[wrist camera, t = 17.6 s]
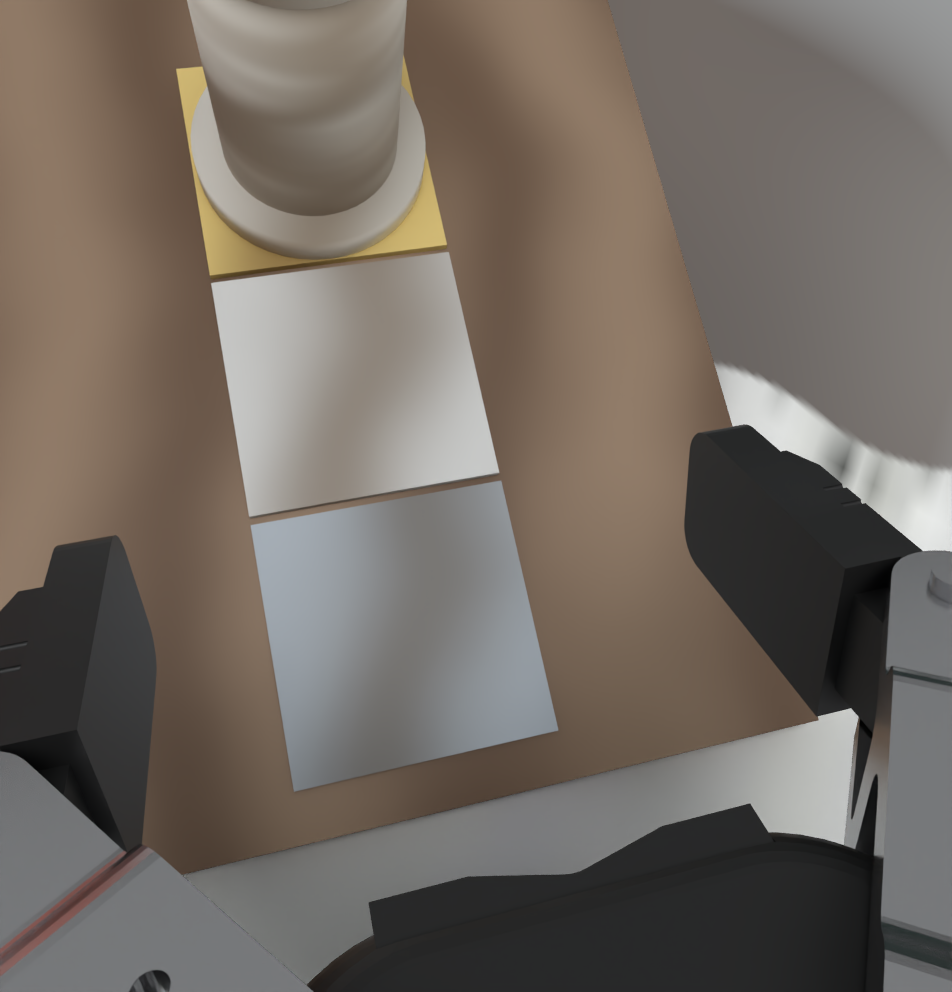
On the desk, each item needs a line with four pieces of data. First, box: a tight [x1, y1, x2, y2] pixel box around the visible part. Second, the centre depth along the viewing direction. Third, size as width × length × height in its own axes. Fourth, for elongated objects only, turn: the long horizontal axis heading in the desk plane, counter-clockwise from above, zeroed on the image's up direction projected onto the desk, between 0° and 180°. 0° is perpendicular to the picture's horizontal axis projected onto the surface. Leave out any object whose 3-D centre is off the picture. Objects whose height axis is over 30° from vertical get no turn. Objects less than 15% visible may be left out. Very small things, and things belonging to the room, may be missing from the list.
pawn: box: [187, 0, 425, 260], centre depth 18 cm, size 6×6×10 cm
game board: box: [0, 0, 818, 875], centre depth 20 cm, size 26×22×3 cm
